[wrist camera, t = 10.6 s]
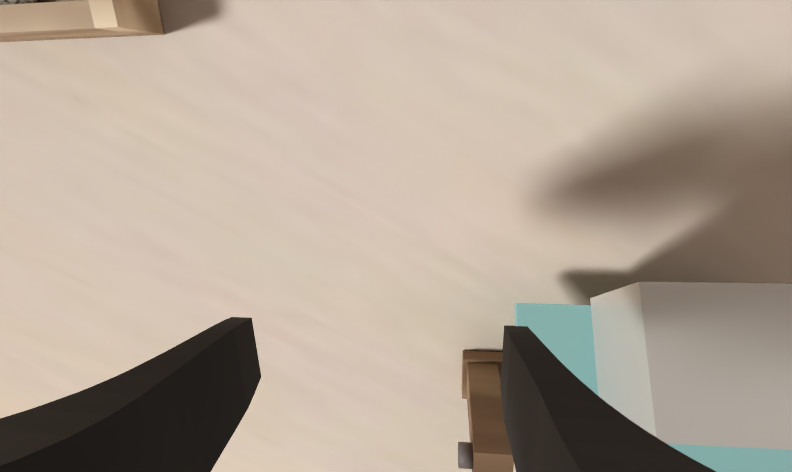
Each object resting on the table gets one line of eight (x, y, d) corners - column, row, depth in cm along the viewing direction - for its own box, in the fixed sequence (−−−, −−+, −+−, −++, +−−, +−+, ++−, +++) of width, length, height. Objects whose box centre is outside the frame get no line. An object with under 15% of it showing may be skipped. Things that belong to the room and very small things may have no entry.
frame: (772, 403, 23) (897, 527, 17) (454, 388, 25) (458, 494, 18) (786, 362, 22) (923, 476, 16) (455, 350, 24) (459, 447, 18)
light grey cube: (728, 423, 18) (836, 452, 13) (600, 417, 18) (657, 443, 13) (709, 300, 19) (801, 283, 14) (590, 298, 19) (638, 281, 15)
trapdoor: (831, 605, 17) (869, 630, 15) (521, 576, 18) (528, 596, 16) (778, 312, 19) (805, 309, 18) (513, 305, 21) (518, 302, 19)
